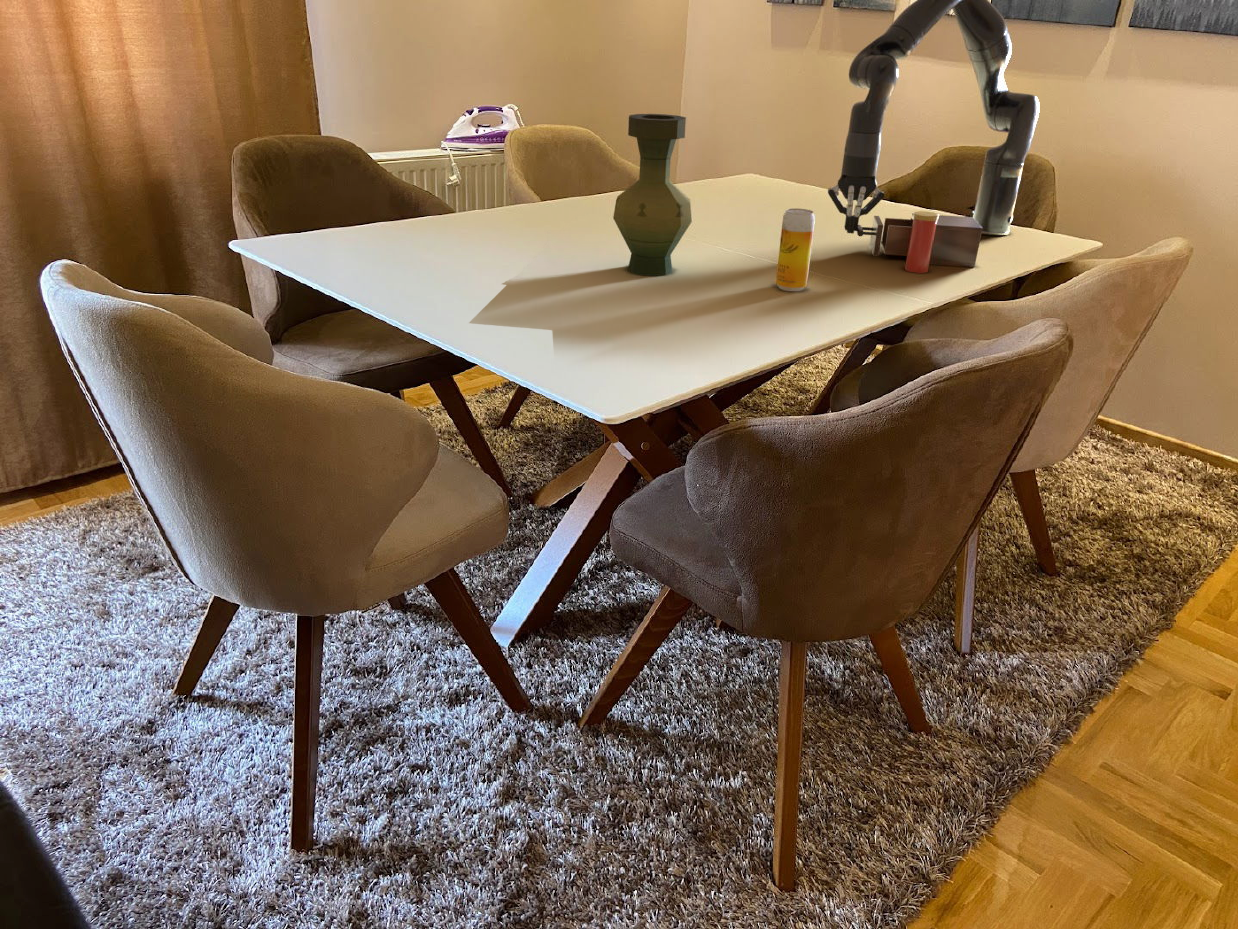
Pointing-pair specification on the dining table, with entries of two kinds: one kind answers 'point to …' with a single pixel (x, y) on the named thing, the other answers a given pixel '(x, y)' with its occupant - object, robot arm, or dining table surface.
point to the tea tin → (921, 241)
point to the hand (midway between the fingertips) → (850, 232)
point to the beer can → (795, 249)
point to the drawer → (888, 235)
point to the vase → (653, 197)
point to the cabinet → (955, 241)
